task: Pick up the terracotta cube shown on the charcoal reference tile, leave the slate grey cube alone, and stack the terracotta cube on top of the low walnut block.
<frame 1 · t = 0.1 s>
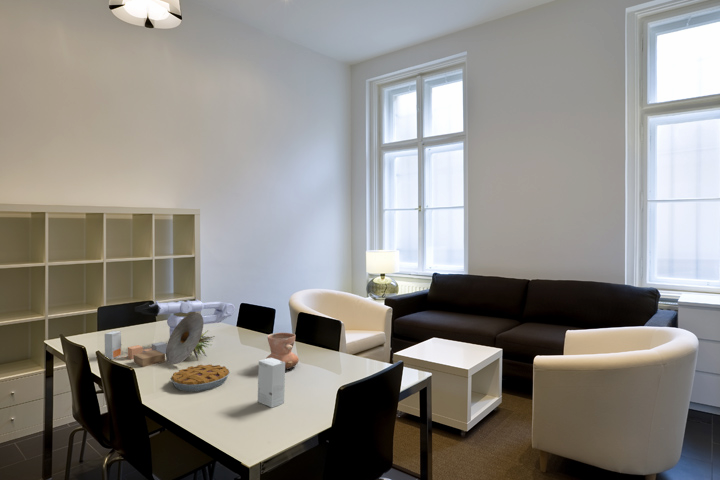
hand: (138, 310, 216), 22 cm above the table, tool horizontal, fingers open, 7 cm apart
slate grey cube: (159, 353, 218), on the table
ceramic jug: (281, 367, 196), on the table
skincare box: (113, 357, 212), on the table
reference tile: (148, 351, 222), on the table
pie: (200, 383, 177), on the table
skincare box 2: (271, 403, 156), on the table
walnut block: (149, 362, 204), on the table
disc: (191, 359, 209), on the table
terracotta cube: (135, 357, 212), on the table
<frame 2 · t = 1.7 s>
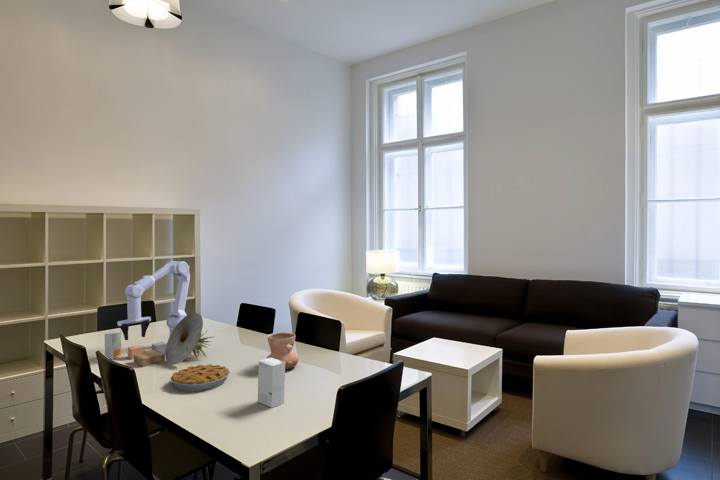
hand: (135, 338, 212), 9 cm above the table, tool pointing down, fingers open, 7 cm apart
nothing on the table moved.
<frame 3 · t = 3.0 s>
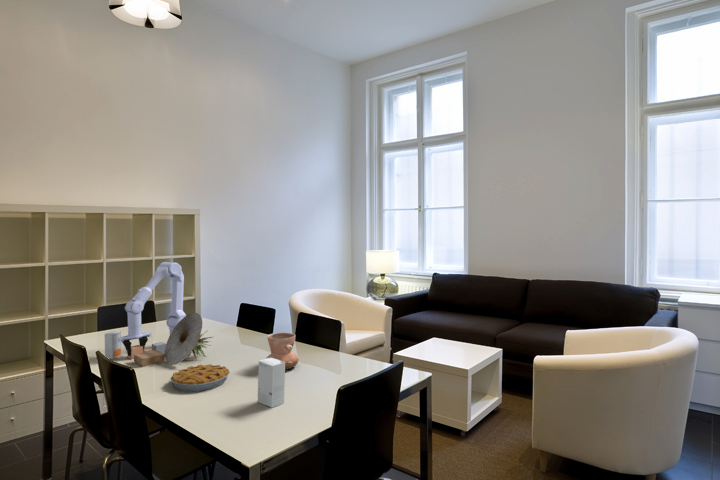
hand: (135, 354, 212), 1 cm above the table, tool pointing down, fingers closed on terracotta cube, 5 cm apart
terracotta cube: (135, 357, 212), on the table, touching gripper
everything else where it was.
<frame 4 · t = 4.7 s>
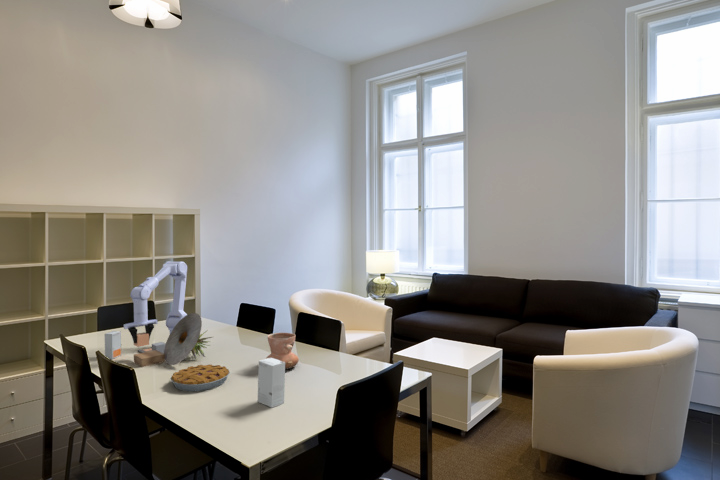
hand: (141, 341, 208), 8 cm above the table, tool pointing down, fingers closed on terracotta cube, 5 cm apart
terracotta cube: (141, 344, 208), point 7 cm above the table, touching gripper
everything else where it was.
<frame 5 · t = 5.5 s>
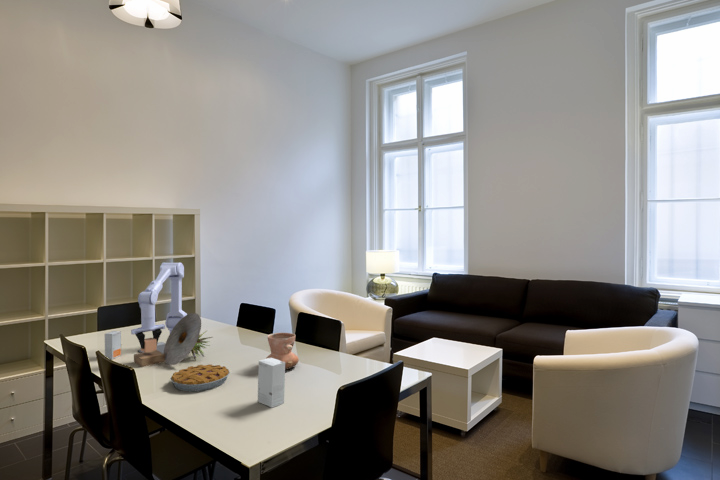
hand: (149, 347, 204), 7 cm above the table, tool pointing down, fingers closed on terracotta cube, 5 cm apart
terracotta cube: (148, 350, 204), point 5 cm above the table, touching gripper
when the fingers open (7 cm above the table, at t = 6.4 s): terracotta cube drops 2 cm, resting on walnut block.
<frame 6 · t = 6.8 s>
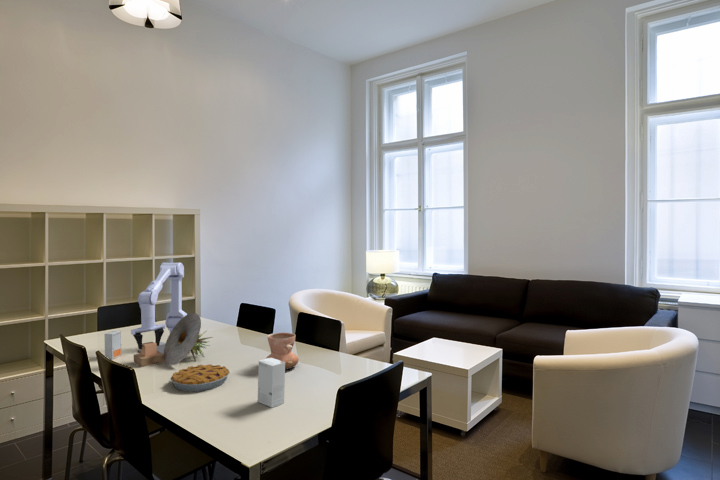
hand: (149, 347, 204), 7 cm above the table, tool pointing down, fingers open, 7 cm apart
walnut block: (149, 363, 204), on the table, touching terracotta cube
terracotta cube: (148, 354, 204), point 4 cm above the table, touching walnut block
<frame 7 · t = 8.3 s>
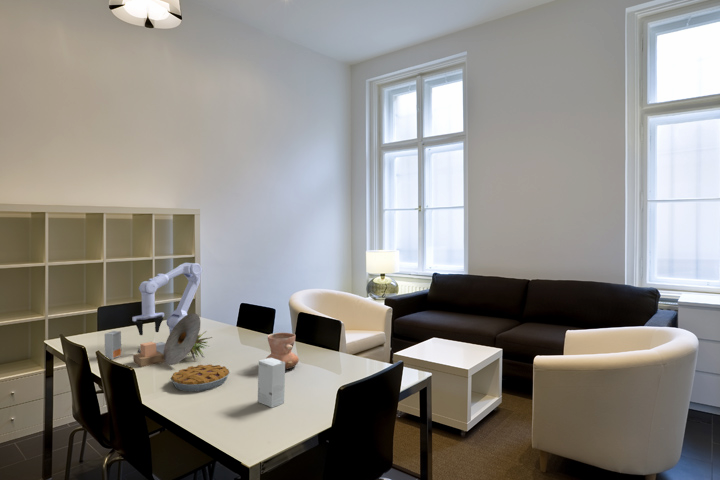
hand: (149, 333, 218), 10 cm above the table, tool pointing down, fingers open, 7 cm apart
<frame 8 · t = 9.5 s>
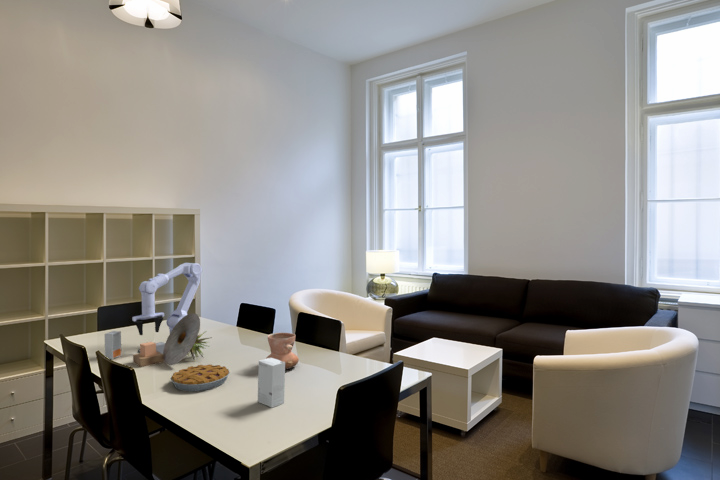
hand: (149, 333, 218), 10 cm above the table, tool pointing down, fingers open, 7 cm apart
walnut block: (148, 363, 204), on the table
terracotta cube: (148, 354, 204), point 4 cm above the table
at the end: terracotta cube 0.1 cm off-centre on the walnut block, point 4.0 cm above the walnut block's base; terracotta cube tilted 1°; slate grey cube moved 0.1 cm from its start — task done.
